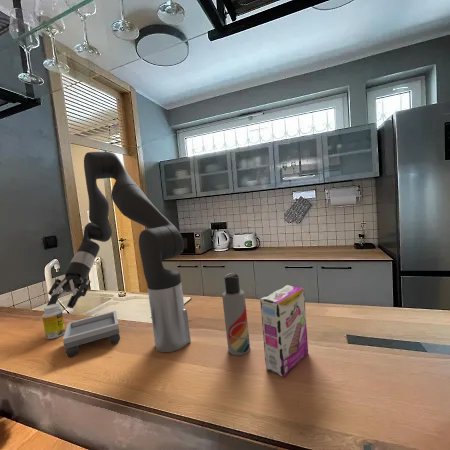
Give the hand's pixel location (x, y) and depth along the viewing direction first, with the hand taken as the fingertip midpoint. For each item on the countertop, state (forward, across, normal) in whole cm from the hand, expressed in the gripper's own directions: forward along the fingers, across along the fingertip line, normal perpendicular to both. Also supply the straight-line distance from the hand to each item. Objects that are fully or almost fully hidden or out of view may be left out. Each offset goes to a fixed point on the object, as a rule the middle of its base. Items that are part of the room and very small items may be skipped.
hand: (59, 307), depth 89 cm
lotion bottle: (+11, +64, +1) cm, 64 cm away
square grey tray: (+10, +18, +2) cm, 21 cm away
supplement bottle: (+8, 0, +4) cm, 9 cm away
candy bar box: (+14, +76, -2) cm, 77 cm away
